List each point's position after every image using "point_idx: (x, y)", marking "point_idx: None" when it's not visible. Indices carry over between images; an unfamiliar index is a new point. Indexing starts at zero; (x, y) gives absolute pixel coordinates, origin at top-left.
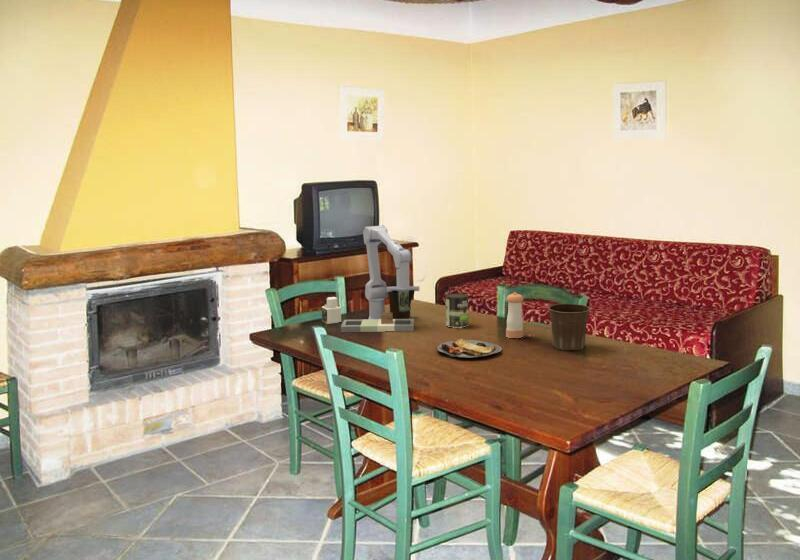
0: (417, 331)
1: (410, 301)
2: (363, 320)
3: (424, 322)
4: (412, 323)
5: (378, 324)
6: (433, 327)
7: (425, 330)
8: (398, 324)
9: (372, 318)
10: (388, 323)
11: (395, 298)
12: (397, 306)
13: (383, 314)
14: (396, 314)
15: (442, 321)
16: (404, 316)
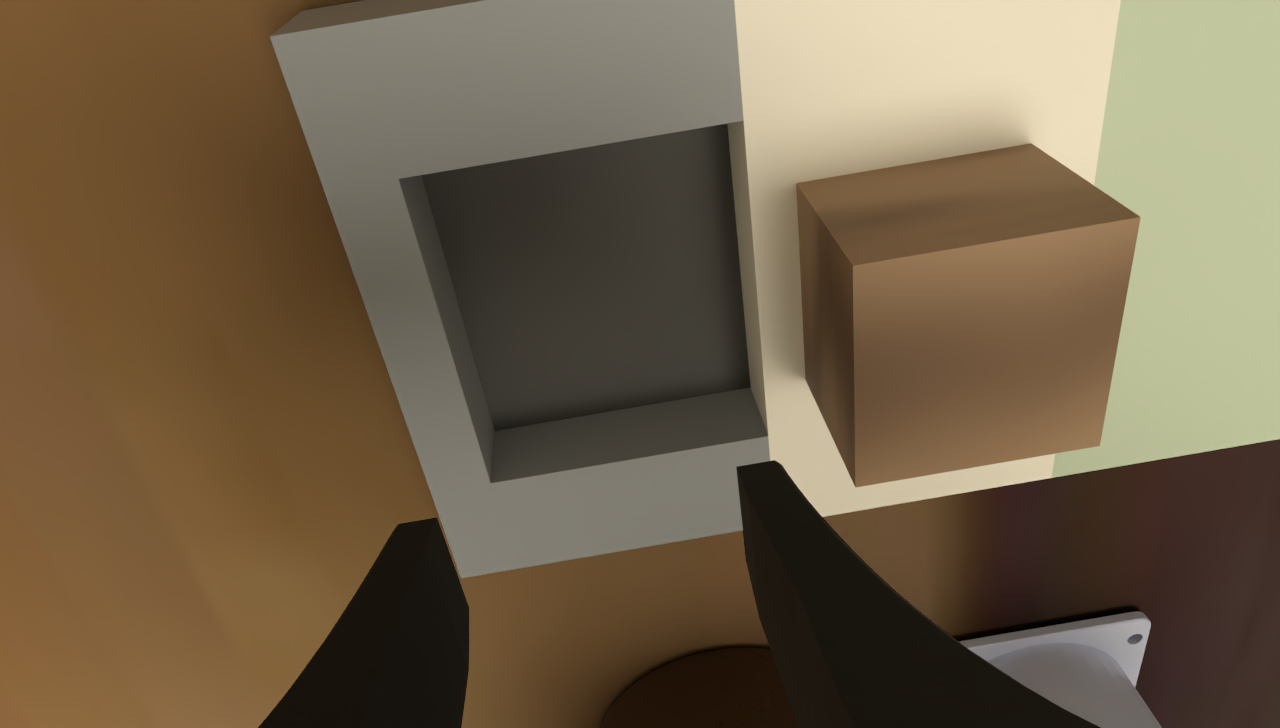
0: (217, 3)
1: (328, 654)
2: None
3: (338, 616)
4: (372, 246)
5: (1094, 73)
6: (46, 359)
7: (85, 113)
8: (656, 122)
9: (1095, 648)
10: (880, 170)
11: (912, 645)
12: (765, 479)
13: (1072, 283)
14: (780, 718)
15: (95, 693)
16: (659, 713)
